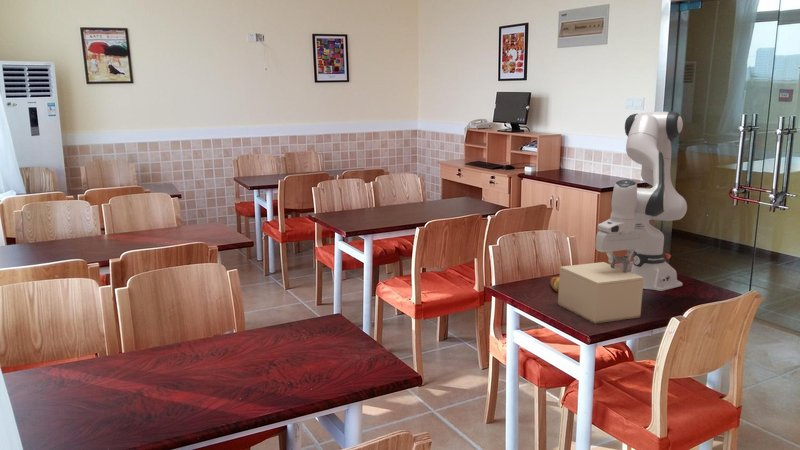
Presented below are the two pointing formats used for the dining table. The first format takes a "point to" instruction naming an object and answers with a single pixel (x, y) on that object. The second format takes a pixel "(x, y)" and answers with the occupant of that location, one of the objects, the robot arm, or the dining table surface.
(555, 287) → the croissant
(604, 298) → the carton
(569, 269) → the flap
